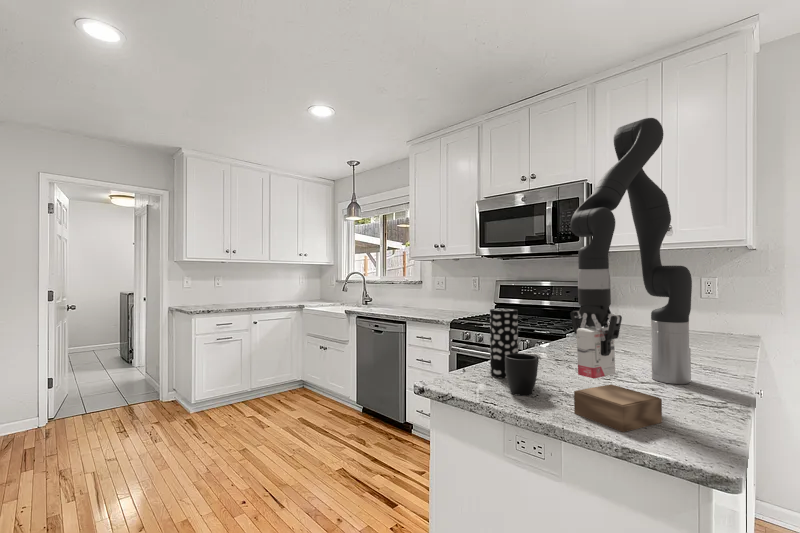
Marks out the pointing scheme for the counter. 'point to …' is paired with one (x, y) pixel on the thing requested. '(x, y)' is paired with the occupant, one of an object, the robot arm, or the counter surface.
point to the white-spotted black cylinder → (502, 339)
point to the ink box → (593, 354)
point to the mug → (521, 373)
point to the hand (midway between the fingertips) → (595, 353)
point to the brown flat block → (618, 407)
